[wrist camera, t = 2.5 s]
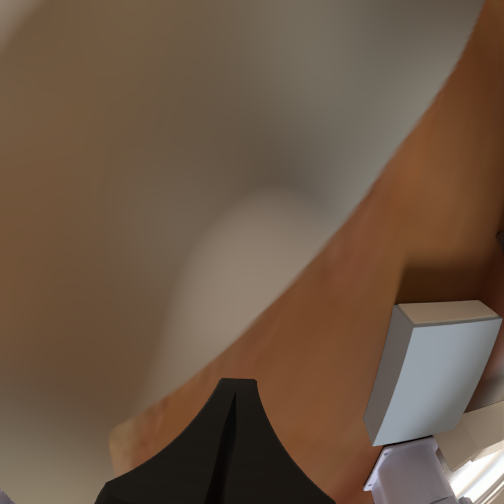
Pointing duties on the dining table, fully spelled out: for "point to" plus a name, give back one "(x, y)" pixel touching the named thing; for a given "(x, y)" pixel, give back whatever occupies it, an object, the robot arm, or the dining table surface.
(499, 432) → the shallow white tray
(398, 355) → the white block
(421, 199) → the dining table surface
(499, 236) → the grey long angular piece
